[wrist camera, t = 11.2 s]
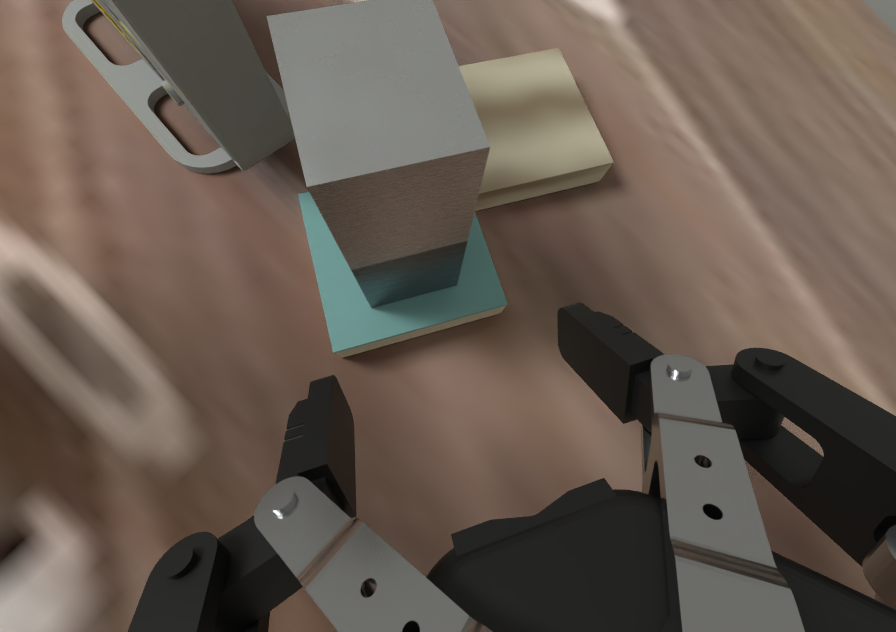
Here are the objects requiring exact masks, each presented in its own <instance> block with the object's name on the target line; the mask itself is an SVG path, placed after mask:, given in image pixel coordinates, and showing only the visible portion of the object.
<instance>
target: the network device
mask: <svg viewBox="0 0 896 632" xmlns="http://www.w3.org/2000/svg"><path fill="white" fill-rule="evenodd" d="M99 12H102V13H103V15H104V16H105V17H106V18H107V19H108V20H109V21H110V22H111V24H112V25H113V26H114V27H115V28H116V29H117V30H118V31H119V33H120V34H121V35H122V36H123V37H124V38H125V39H126V41H127V42H128V43H129V44H130V45H131V46H132V47H133V48H134V50H135V51H136V52H137V53H138V54H139V55H140V56H141V57H142V59H141V60H139V61H137V62H135V63H133V64H130V65H125V66H119V65H115V64H112V63H111V62H109V60H108V59H107V58H106V57H105V56H104V55H103V53H102V52H101V51H100V50H99V49H98V48H97V46H96V45H95V44H94V43H93V42H92V41H91V39H90V38H89V37H88V36H87V35H86V34H85V32H84V30H83V25H84V23H85V21H86V20H87V19H88V18H89V17H91V16H93V15H95V14H97V13H99ZM62 24H63V28H64V30H65V32H66V33H67V35H68V36H69V37H70V38H71V39H72V41H73V42H74V43H75V44H76V45H77V47H78V48H79V49H80V50H81V51H82V52H83V54H84V55H85V56H86V57H87V58H88V59H89V61H90V62H91V63H92V64H93V65H94V67H95V68H96V69H97V70H98V71H99V72H100V74H101V75H102V76H103V77H104V78H105V80H106V81H107V82H108V83H109V84H110V85H111V87H112V88H113V89H114V90H115V91H116V93H117V94H118V95H119V96H120V97H121V98H122V100H123V101H124V102H125V103H126V104H127V105H128V107H129V108H130V109H131V110H132V111H133V113H134V114H135V115H136V116H137V117H138V118H139V120H140V121H141V122H142V123H143V124H144V126H145V127H146V128H147V129H148V130H149V131H150V133H151V134H152V135H153V136H154V137H155V138H156V140H157V141H158V142H159V143H160V144H161V146H162V147H163V148H164V149H165V150H166V151H167V153H168V154H169V155H170V156H171V157H172V158H173V159H174V160H175V161H176V162H177V163H178V164H179V165H181V166H182V167H184V168H186V169H188V170H190V171H193V172H197V173H206V174H211V173H219V172H222V171H226V170H229V169H231V168H233V167H235V166H238V167H239V168H240V169H241V170H242V171H243V172H244V171H245V170H247V169H249V168H250V167H252V166H253V165H255V164H256V163H258V162H260V161H261V160H263V159H264V158H266V157H267V156H269V155H271V154H272V153H274V152H275V151H277V150H278V149H280V148H281V147H283V146H285V145H286V144H288V143H289V142H291V141H292V140H294V139H295V135H294V131H293V128H292V126H291V124H290V123H291V118H290V114H289V110H288V105H287V101H286V97H285V93H284V90H283V89H282V88H281V87H280V86H279V85H278V83H277V82H276V81H275V80H274V79H273V78H272V77H271V76H270V75H269V74H268V73H267V72H266V71H265V68H264V66H263V64H262V62H261V60H260V58H259V56H258V54H257V52H256V49H255V47H254V45H253V43H252V41H251V39H250V37H249V35H248V32H247V30H246V28H245V26H244V24H243V22H242V20H241V18H240V15H239V13H238V11H237V9H236V7H235V5H234V3H233V1H232V0H73V1H72V2H71V3H70V4H69V6H68V7H67V8H66V10H65V12H64V14H63V19H62ZM166 94H169V95H170V96H171V97H172V99H173V100H174V101H175V102H176V103H177V104H178V106H181V105H184V106H185V107H186V108H187V109H188V110H189V111H190V113H191V114H192V115H193V116H194V117H195V118H196V119H197V120H198V122H199V123H200V124H201V125H202V126H203V127H204V128H205V129H206V131H207V132H208V133H209V134H210V135H211V136H212V137H213V139H214V140H215V141H216V142H217V143H218V144H219V145H220V146H221V147H220V148H218V149H217V150H215V151H213V152H212V153H210V154H207V155H201V156H199V155H193V154H190V153H188V152H187V151H186V150H185V148H184V147H183V146H182V145H181V144H180V143H179V142H178V140H177V139H176V138H175V137H174V136H173V135H172V133H171V132H170V131H169V130H168V129H167V128H166V126H165V125H164V124H163V123H162V122H161V121H160V120H159V118H158V117H157V116H156V114H155V112H154V107H155V104H156V102H157V101H158V100H159V99H160V98H161V97H163V96H165V95H166Z"/></svg>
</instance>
